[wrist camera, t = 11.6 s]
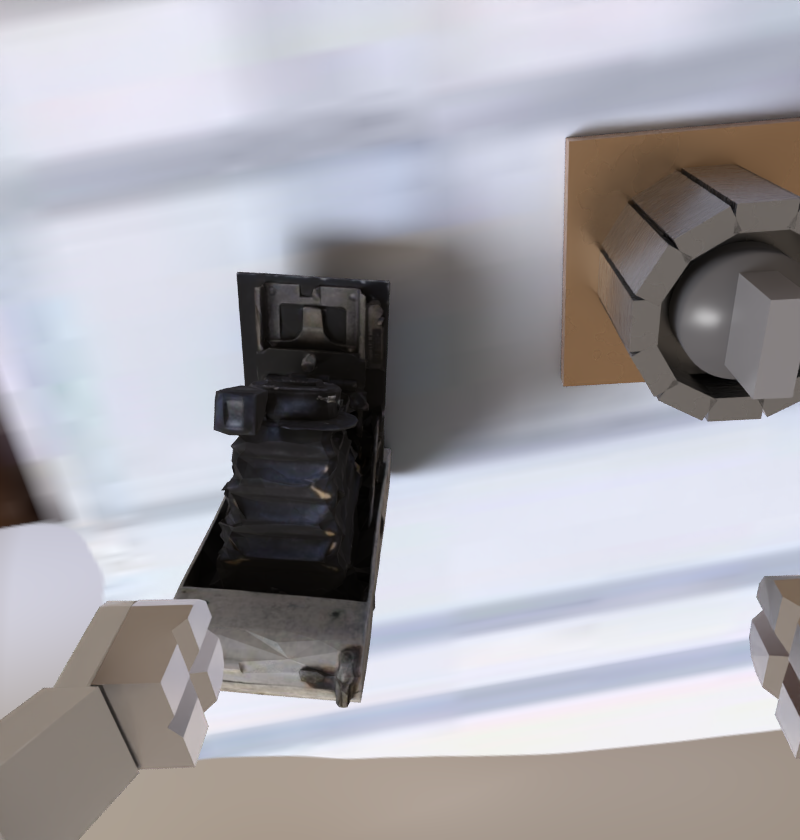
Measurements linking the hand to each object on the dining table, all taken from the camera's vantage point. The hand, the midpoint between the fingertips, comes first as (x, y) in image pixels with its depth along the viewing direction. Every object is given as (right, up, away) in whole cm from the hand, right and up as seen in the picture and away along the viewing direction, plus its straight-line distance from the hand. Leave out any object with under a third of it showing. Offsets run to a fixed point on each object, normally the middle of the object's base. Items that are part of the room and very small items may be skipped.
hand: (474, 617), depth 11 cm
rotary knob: (+15, +8, +23) cm, 29 cm away
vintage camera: (-6, +6, +35) cm, 36 cm away
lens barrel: (+15, +12, +29) cm, 35 cm away
